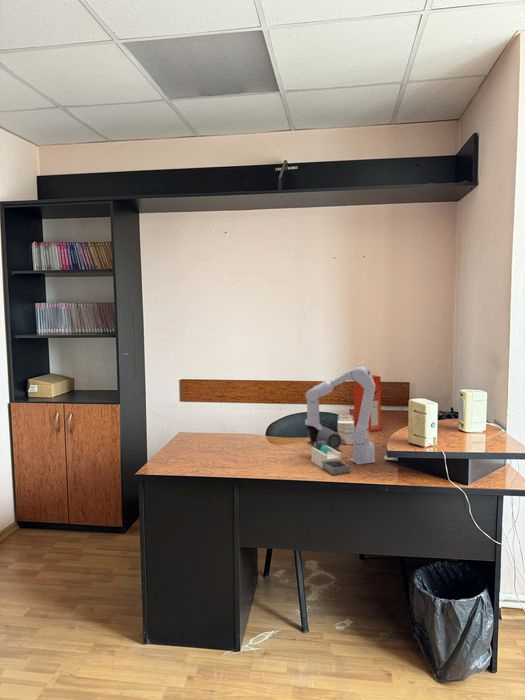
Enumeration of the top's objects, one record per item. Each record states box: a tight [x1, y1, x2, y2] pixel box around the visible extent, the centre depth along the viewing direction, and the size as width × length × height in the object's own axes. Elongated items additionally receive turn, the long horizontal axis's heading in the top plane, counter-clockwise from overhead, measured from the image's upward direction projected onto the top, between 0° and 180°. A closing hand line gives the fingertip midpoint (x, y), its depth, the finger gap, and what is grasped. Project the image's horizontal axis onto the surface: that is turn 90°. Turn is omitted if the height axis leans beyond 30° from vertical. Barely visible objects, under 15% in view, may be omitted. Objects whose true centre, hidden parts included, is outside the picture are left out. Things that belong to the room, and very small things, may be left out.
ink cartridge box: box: [336, 414, 355, 445], centre depth 254 cm, size 9×5×15 cm, turn 84°
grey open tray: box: [323, 460, 351, 476], centre depth 210 cm, size 8×8×3 cm
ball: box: [321, 445, 328, 453], centre depth 220 cm, size 4×4×4 cm
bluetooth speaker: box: [306, 425, 342, 450], centre depth 250 cm, size 23×9×10 cm, turn 21°
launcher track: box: [310, 445, 342, 469], centre depth 219 cm, size 8×14×7 cm, turn 20°
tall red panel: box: [353, 374, 382, 433], centre depth 285 cm, size 8×17×32 cm, turn 19°
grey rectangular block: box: [313, 441, 326, 451], centre depth 224 cm, size 5×2×4 cm, turn 110°
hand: (313, 441), depth 231 cm, fingers closed
